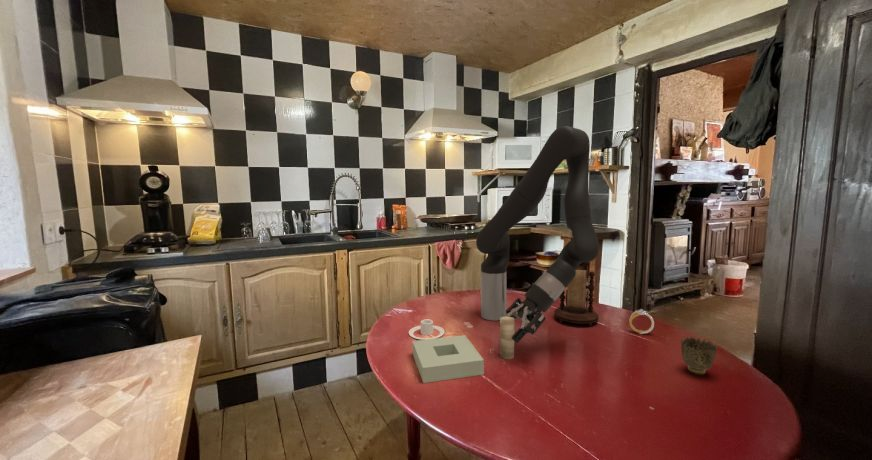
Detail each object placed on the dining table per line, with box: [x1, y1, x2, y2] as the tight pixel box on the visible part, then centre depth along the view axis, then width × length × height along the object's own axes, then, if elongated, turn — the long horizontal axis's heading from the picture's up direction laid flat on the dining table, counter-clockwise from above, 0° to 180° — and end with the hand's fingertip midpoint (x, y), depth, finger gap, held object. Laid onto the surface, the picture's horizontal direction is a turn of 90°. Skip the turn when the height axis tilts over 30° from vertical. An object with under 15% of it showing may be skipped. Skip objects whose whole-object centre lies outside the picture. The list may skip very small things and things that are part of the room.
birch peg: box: [499, 315, 515, 360], centre depth 104 cm, size 4×4×11 cm
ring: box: [628, 308, 655, 335], centre depth 117 cm, size 7×3×8 cm, turn 61°
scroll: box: [553, 265, 599, 327], centre depth 129 cm, size 15×15×20 cm
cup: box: [680, 336, 718, 376], centre depth 93 cm, size 8×7×8 cm
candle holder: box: [408, 318, 445, 340], centre depth 121 cm, size 12×12×4 cm
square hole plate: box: [411, 334, 485, 384], centre depth 100 cm, size 16×16×4 cm
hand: (507, 334), depth 103 cm, fingers open, 8 cm apart
